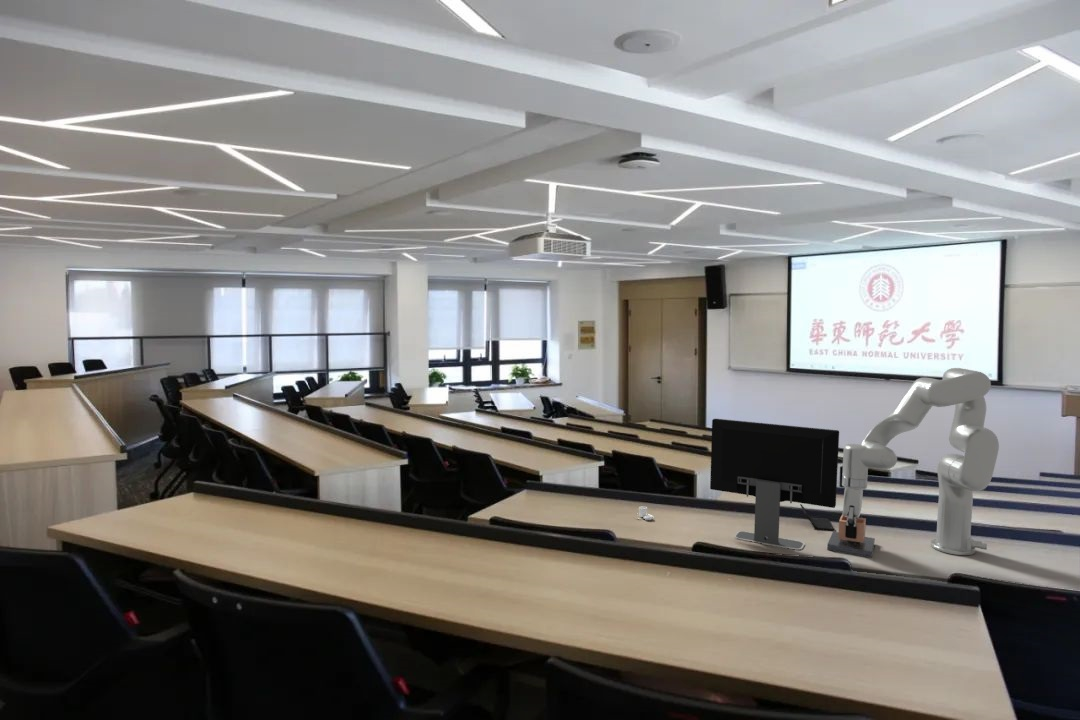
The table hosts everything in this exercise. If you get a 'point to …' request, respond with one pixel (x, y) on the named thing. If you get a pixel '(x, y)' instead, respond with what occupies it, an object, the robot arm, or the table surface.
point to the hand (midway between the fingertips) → (852, 533)
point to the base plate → (851, 545)
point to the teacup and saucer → (644, 513)
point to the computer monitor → (774, 470)
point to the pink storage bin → (860, 529)
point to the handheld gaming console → (819, 522)
